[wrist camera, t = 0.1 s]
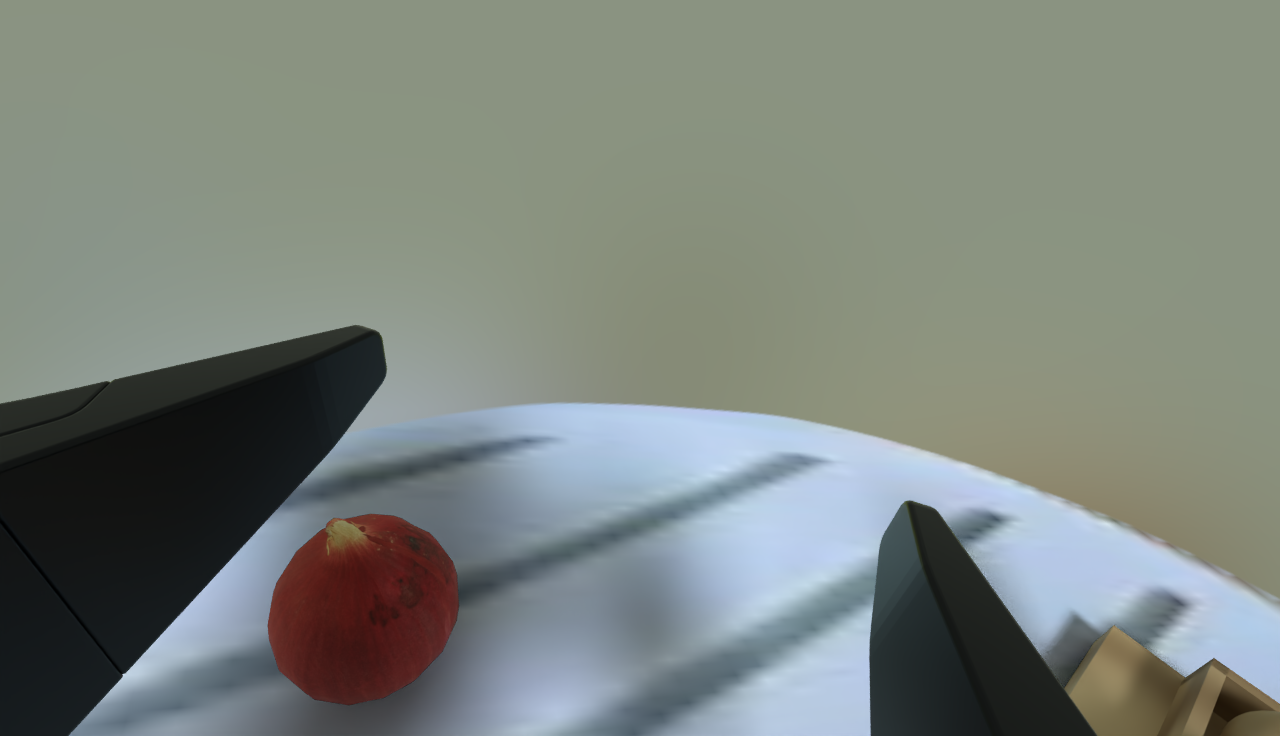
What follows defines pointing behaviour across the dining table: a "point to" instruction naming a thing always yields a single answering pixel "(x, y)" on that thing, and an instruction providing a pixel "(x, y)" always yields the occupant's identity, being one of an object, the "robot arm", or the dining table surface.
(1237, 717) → the beige ball
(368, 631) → the onion
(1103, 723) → the base
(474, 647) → the dining table surface
